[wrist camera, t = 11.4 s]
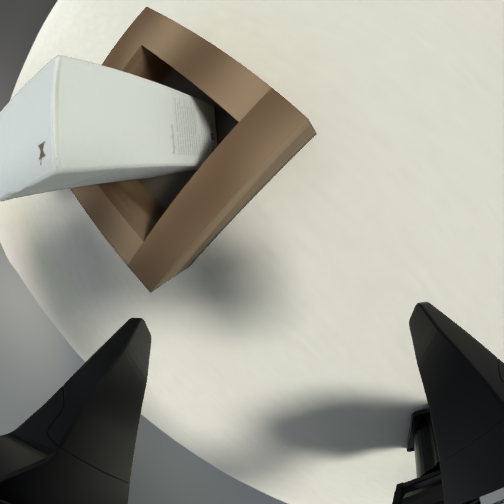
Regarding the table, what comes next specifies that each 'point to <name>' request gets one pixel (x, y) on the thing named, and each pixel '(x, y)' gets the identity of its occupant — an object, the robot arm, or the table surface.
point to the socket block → (216, 165)
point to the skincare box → (98, 129)
